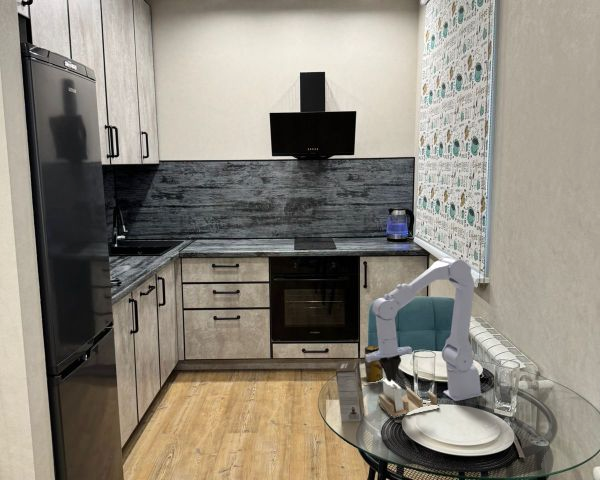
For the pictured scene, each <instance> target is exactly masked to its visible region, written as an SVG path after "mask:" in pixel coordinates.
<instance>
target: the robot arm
mask: <svg viewBox="0 0 600 480" xmlns="http://www.w3.org/2000/svg"><path fill="white" fill-rule="evenodd" d="M471 272H472V267H471V266H470V265H469V264H468V263H467V262H466V261H465V260H462V259H456V258H452V257H450V256H443V257H440V258H439V259H438V260H436V261H435V262H433V264H432V265H430V267H428V269H426V270H424V272H422V273H421V274H420V275H418V276H417V277H416V278H415V279H414V280H412V281H411V282H410V283H402V284H401V283H399V284H397V285H395V286H396V288H395V289H394V290H392V291H391V292H389V293H385V294H384V295H383V296H384V297H379V298H377V299H376V300H374V303H373V304H372V307H371V310H372V313H373V315H375V321H376V323H375V325H376V333H377V346H378V347H379V351H376V352H373V353H370V354H366V355H365V354H364V356H365V358H366V361H367V362H371V361H374V360H378V361H379V362H380V364H381V366H382V369H383V373H384V374H385V379H387V380H388V381H389V382H391V380H392V381H394V382H395V381H396V380H397V375H398V370H399V367H400V365H401V363H402V357H400V356H403V355H405V356H406V355H412V354H413V348H412V347H410V346H409V345H408V346H402V347H401V346H400V347H398V338H397V328H396V327H397V326H396V316H397V314H398V311H399V310H401V309H402V308H403V307H405V306H406V305H407V304H409V303H411V302H412V301H413V300H415V297H416V293H418V292H420V291H421V290H422V289H425V287H428V286H429V285H431V284H432V283H434V282H436V281H439V280H446V281H449V282H450V283H451V284H452V285H453V287H455V294H454V302H453V311H452V318H451V328H450V335H449V337H448V338H447V339H446V340H445V345H444V346H443V348H442V351H441V357H442V360H443V361H444V362H445V365H446V366H445V367H446V377H447V388H448V389H447V390H444V391H443V394H445V395H446V396H448V397H449V398H450V399H452V400H453V401H454V402H459V401H463V400H467V399H472V398H477V397H481V396H483V394H482V391H481V381H480V380H481V379H480V373H479V371H478V368H477V367H476V366H475V365H474V356H473V347H472V345H471V342H470V341H469V336H470V335H469V334H470V327H471V318H472V310H473V309H472V308H473V301H474V293H475V281H474V278H473V276H472V275H473V274H472V273H471Z"/></svg>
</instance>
